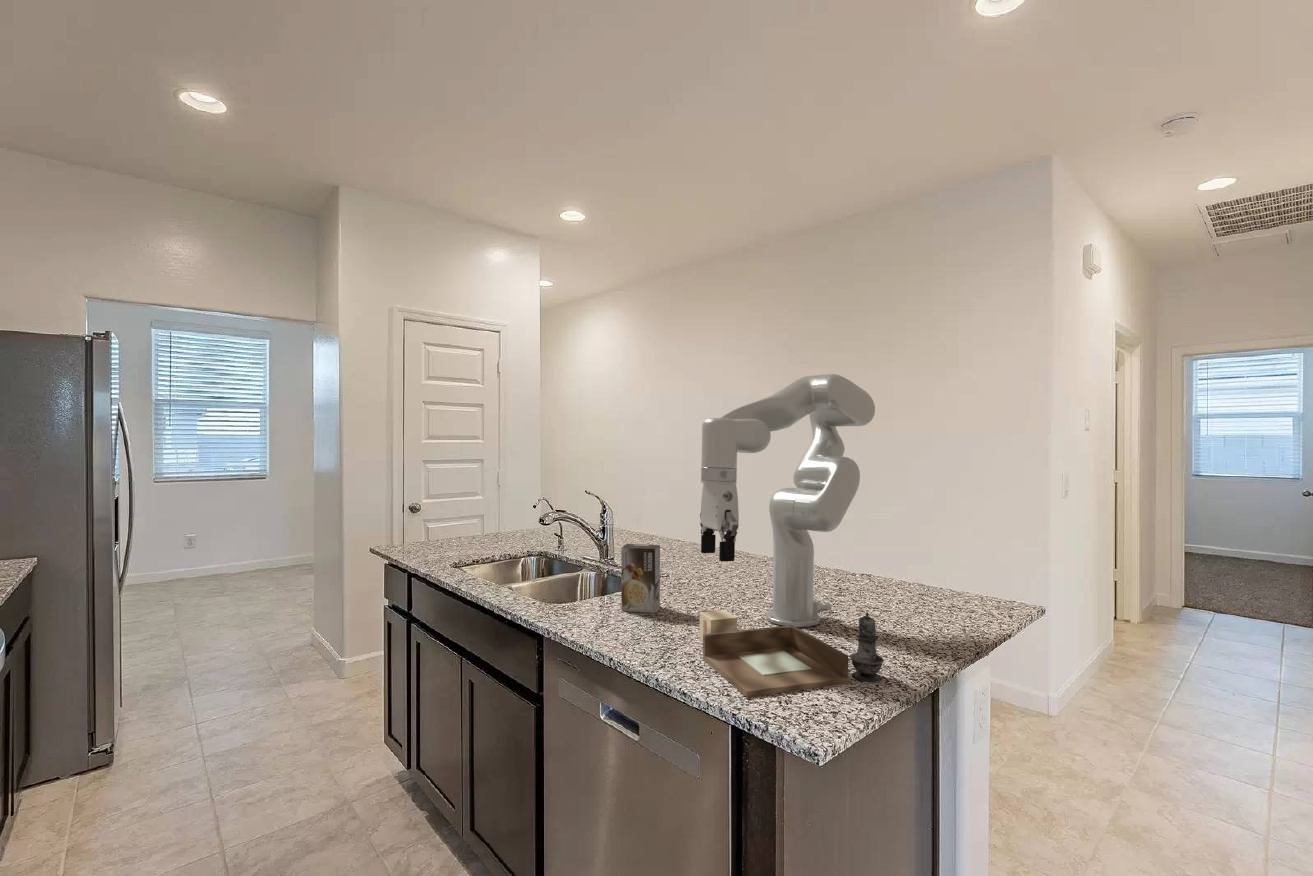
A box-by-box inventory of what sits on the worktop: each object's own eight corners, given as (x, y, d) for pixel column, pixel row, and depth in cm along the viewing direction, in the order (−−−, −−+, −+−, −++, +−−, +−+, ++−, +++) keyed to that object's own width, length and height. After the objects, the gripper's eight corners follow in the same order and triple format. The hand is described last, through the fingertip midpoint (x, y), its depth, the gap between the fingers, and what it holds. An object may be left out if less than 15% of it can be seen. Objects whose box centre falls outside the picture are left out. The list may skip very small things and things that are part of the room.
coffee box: (661, 607, 162) (661, 544, 162) (655, 613, 156) (656, 548, 156) (626, 604, 164) (627, 543, 164) (620, 611, 158) (620, 547, 158)
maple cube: (725, 637, 138) (725, 610, 138) (737, 646, 132) (737, 617, 132) (699, 640, 136) (699, 612, 136) (710, 649, 130) (710, 620, 130)
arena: (792, 649, 130) (792, 625, 130) (848, 683, 112) (848, 655, 112) (702, 659, 123) (703, 634, 123) (746, 697, 105) (746, 667, 105)
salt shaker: (844, 672, 117) (845, 607, 117) (875, 671, 118) (875, 607, 118) (857, 684, 112) (858, 616, 112) (889, 683, 112) (890, 616, 112)
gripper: (753, 478, 127) (751, 563, 126) (718, 474, 143) (716, 549, 143) (719, 478, 124) (717, 565, 124) (687, 474, 141) (685, 550, 140)
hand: (717, 556), depth 133 cm, fingers open, 9 cm apart
